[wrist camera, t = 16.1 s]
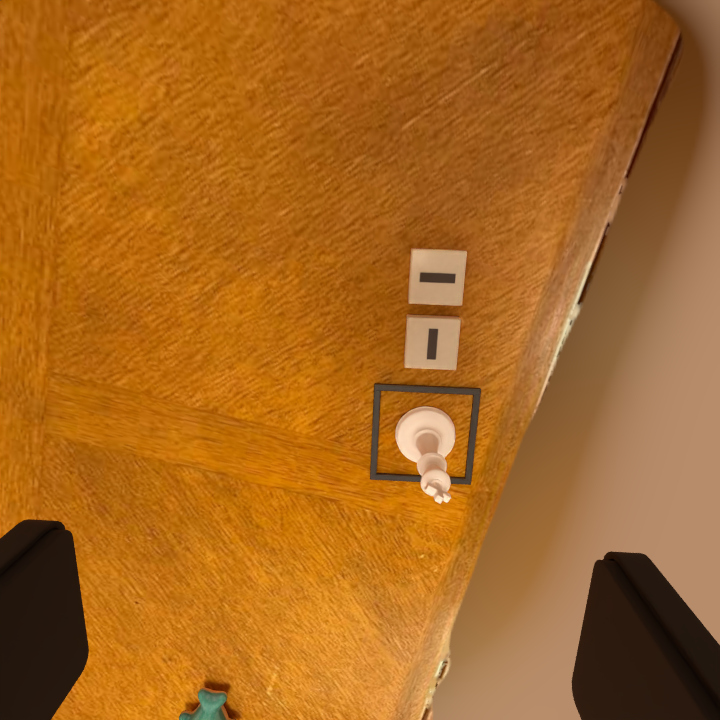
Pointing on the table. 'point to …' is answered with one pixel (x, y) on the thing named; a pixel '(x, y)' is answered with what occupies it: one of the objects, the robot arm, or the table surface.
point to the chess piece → (428, 447)
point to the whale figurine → (208, 706)
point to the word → (431, 341)
